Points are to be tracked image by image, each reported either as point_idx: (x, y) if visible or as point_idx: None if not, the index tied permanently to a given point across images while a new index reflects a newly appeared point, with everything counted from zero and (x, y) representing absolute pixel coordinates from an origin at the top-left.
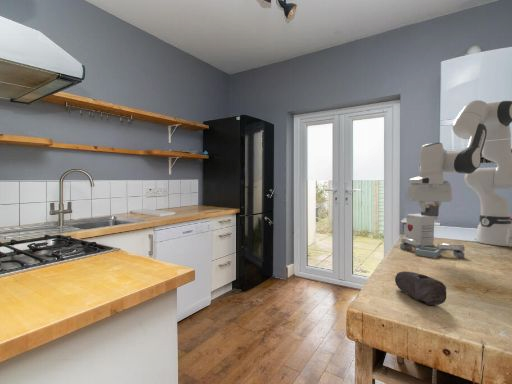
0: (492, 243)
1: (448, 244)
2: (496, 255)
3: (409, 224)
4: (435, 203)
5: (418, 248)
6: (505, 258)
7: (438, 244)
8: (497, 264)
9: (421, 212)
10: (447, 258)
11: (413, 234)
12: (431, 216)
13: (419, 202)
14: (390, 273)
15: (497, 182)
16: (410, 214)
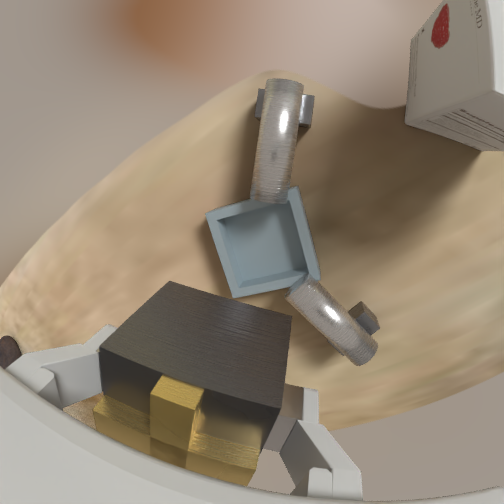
0: None
1: (325, 324)
2: (473, 367)
3: (448, 14)
4: (301, 483)
5: (232, 214)
6: (447, 394)
7: (297, 289)
8: (344, 413)
9: (153, 299)
10: None
11: (425, 65)
12: None
13: (13, 372)
14: (28, 291)
15: None
16: None
